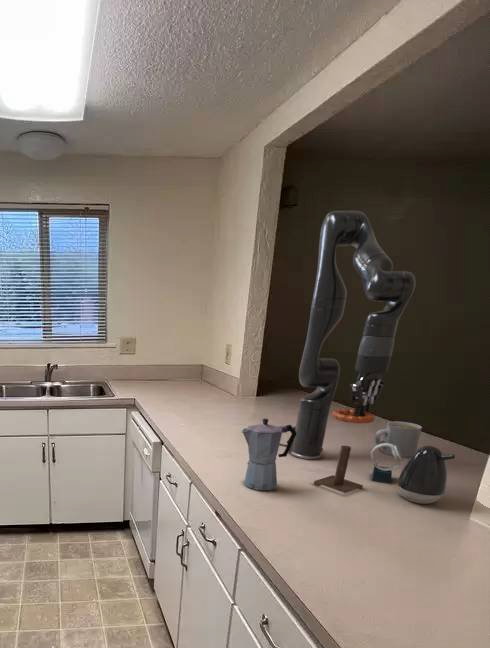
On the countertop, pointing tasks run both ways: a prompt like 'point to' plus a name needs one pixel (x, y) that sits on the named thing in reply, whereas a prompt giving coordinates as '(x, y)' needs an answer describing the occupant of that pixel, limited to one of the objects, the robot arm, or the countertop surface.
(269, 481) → the moka pot
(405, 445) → the coffee mug
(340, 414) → the ring
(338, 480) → the stand
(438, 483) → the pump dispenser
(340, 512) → the countertop surface
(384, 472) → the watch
